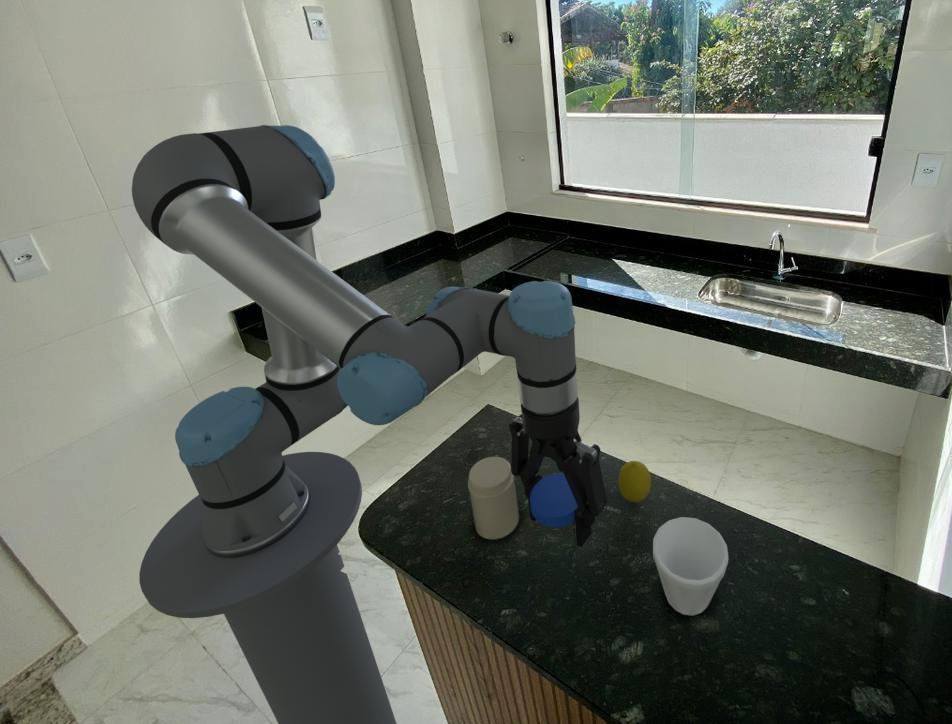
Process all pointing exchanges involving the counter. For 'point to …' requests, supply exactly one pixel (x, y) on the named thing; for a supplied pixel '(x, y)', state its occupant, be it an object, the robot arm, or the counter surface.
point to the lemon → (634, 481)
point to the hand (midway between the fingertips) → (560, 526)
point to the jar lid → (553, 501)
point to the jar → (493, 498)
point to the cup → (689, 563)
